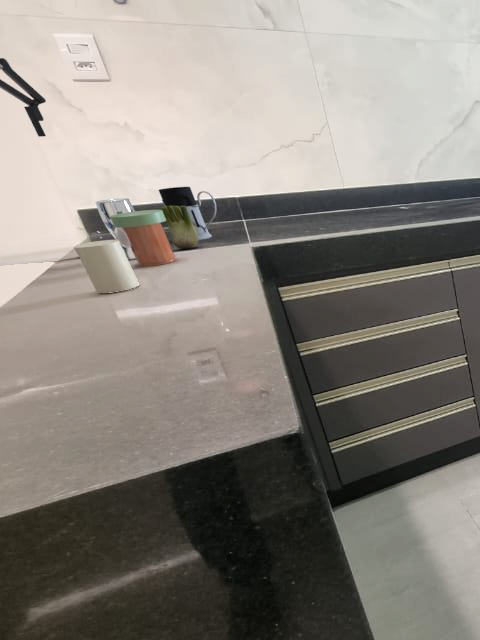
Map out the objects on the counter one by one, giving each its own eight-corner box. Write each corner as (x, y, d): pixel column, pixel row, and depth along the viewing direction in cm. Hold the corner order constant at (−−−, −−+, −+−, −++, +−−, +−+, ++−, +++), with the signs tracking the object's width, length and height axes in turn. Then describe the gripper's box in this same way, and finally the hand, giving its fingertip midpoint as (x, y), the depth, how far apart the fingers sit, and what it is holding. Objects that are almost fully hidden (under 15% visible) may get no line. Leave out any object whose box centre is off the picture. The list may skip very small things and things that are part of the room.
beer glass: (137, 254, 147) (111, 198, 140) (161, 253, 146) (136, 197, 140) (114, 260, 140) (86, 202, 134) (138, 260, 140) (112, 201, 134)
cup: (145, 267, 132) (127, 227, 127) (134, 264, 135) (116, 225, 131) (181, 260, 137) (164, 221, 133) (169, 257, 141) (153, 219, 137)
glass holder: (189, 236, 168) (168, 187, 161) (236, 233, 169) (218, 184, 162) (170, 242, 160) (148, 191, 153) (219, 239, 161) (199, 188, 155)
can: (103, 296, 111) (79, 248, 106) (92, 291, 114) (69, 245, 110) (144, 286, 116) (123, 241, 112) (133, 282, 119) (112, 238, 115)
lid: (122, 228, 126) (117, 218, 125) (108, 225, 131) (103, 215, 130) (173, 221, 133) (168, 211, 132) (157, 218, 138) (153, 208, 137)
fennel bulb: (205, 246, 152) (188, 203, 147) (189, 250, 148) (171, 207, 143) (188, 246, 153) (170, 204, 148) (172, 250, 149) (153, 207, 144)
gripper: (-149, 23, 102) (-80, 142, 111) (32, 34, 121) (78, 134, 130) (-153, 28, 106) (-86, 142, 115) (23, 37, 124) (69, 135, 134)
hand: (1, 138), depth 122 cm, fingers open, 13 cm apart
